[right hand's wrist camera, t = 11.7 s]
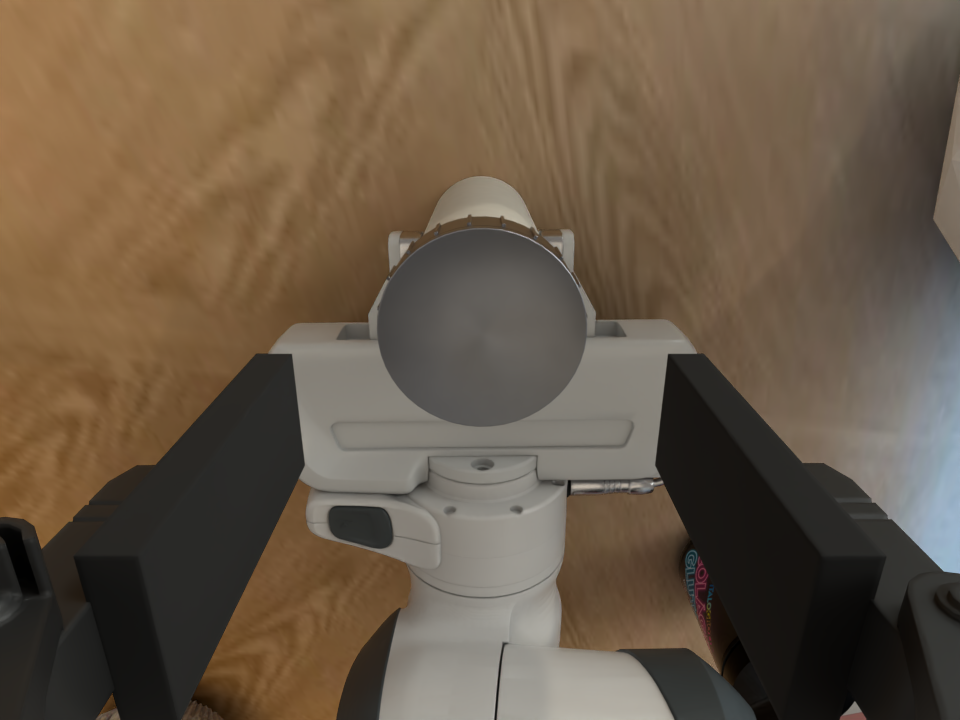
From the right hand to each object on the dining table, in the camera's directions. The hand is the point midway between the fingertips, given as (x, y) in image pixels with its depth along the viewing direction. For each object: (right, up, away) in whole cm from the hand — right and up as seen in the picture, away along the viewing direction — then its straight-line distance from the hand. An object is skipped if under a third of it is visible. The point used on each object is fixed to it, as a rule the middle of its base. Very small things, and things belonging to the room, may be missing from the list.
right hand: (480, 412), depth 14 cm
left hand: (0, +7, +15) cm, 16 cm away
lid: (0, +2, +5) cm, 5 cm away
